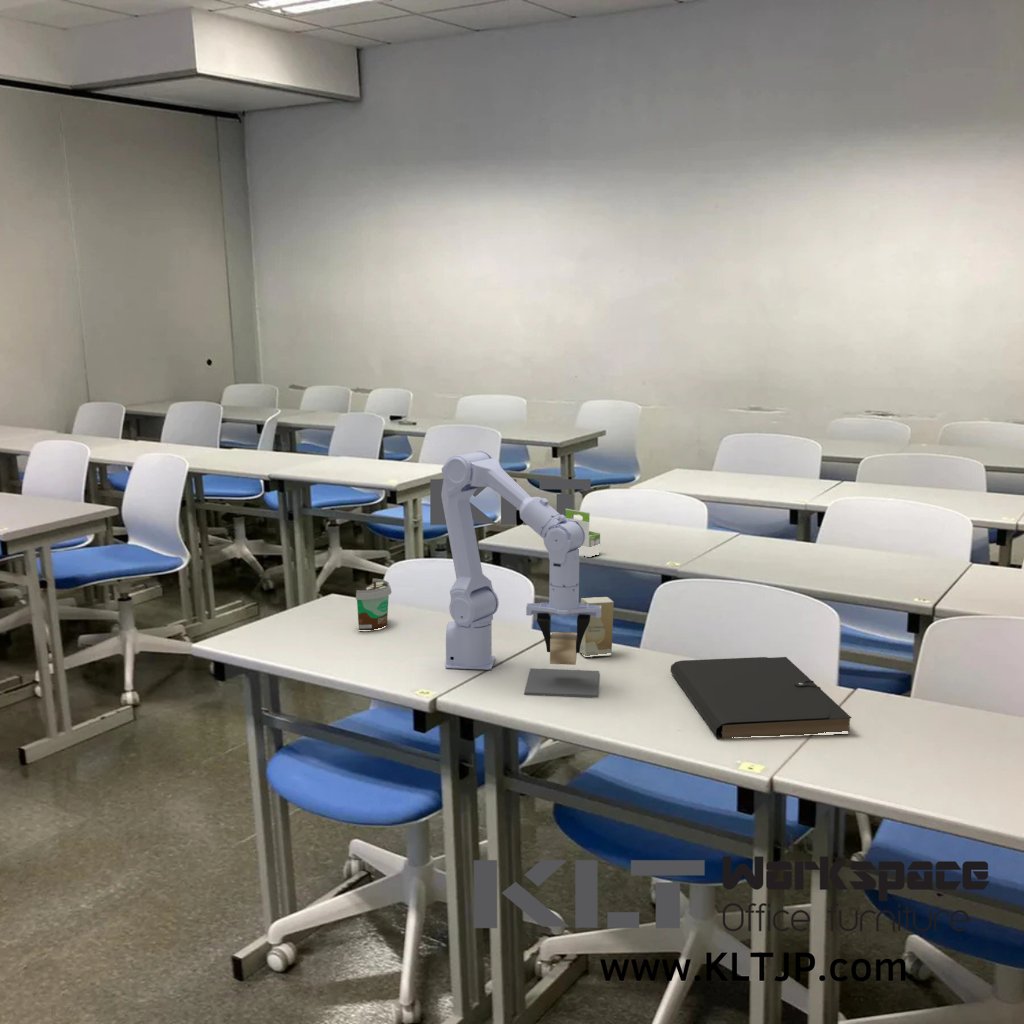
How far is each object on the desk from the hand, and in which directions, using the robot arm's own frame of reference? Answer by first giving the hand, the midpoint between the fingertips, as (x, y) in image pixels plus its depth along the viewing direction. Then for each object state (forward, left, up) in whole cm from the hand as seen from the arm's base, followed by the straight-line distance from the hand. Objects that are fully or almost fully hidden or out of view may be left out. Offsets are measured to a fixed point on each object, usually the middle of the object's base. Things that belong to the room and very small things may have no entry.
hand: (563, 651), depth 204 cm
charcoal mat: (0, 0, -7) cm, 7 cm away
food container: (-45, +34, -7) cm, 57 cm away
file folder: (+36, -6, -8) cm, 38 cm away
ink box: (-1, +116, -7) cm, 116 cm away
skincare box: (+6, +19, -7) cm, 21 cm away
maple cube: (0, +1, -2) cm, 2 cm away
